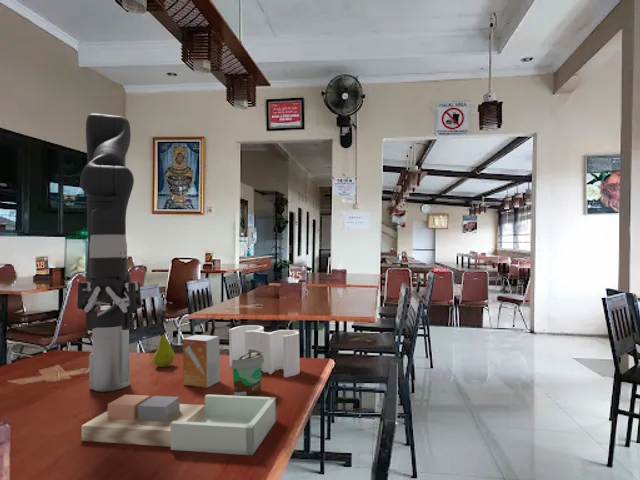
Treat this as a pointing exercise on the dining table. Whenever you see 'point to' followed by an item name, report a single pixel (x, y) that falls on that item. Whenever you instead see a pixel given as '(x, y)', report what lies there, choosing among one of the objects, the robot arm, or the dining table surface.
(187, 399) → the dining table surface
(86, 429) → the beige slab
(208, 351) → the small box
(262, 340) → the bracket
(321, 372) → the dining table surface
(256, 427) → the tray
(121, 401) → the tile
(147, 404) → the tile
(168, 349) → the fruit
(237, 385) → the food container
